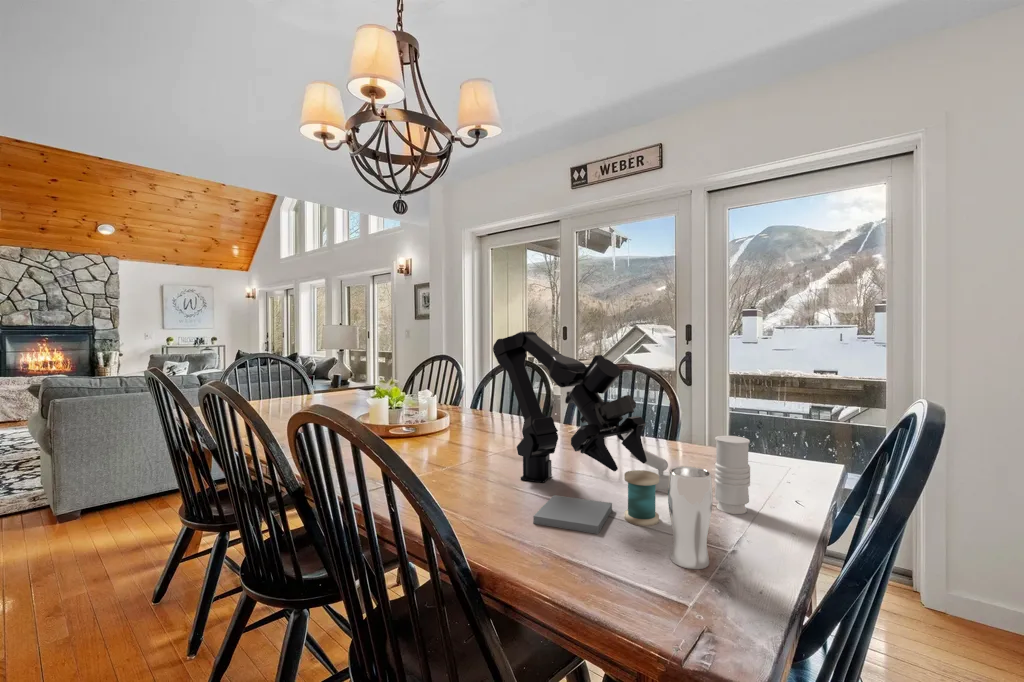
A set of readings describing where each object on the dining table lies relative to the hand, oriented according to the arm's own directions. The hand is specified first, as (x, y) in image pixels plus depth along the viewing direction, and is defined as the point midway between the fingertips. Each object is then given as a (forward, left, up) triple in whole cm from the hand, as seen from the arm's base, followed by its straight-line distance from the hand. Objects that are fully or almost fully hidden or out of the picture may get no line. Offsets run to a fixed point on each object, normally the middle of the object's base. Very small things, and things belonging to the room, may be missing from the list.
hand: (631, 466), depth 101 cm
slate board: (-11, -5, -10) cm, 16 cm away
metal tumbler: (+12, -16, -10) cm, 23 cm away
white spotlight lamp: (+1, +22, -10) cm, 24 cm away
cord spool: (+2, -1, -10) cm, 11 cm away
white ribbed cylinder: (+19, +12, -10) cm, 25 cm away
